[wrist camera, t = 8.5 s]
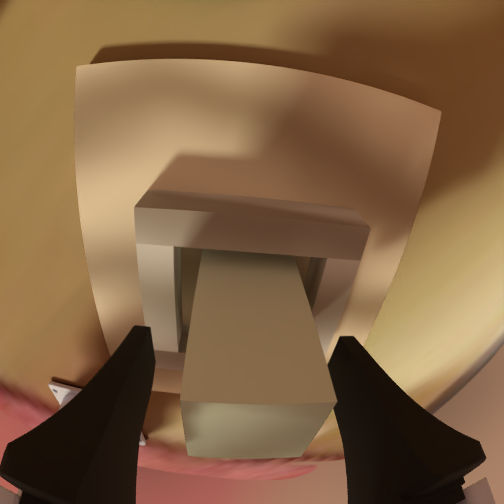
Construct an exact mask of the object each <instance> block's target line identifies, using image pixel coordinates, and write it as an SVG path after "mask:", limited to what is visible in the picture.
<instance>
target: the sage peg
mask: <svg viewBox="0 0 504 504" xmlns="http://www.w3.org/2000/svg"><path fill="white" fill-rule="evenodd" d="M336 403H337V399H336V395H335V391H334V388H333V384H332V380H331V377H330V373H329V370H328V366H327V363H326V359H325V356H324V352H323V349H322V345H321V342H320V339H319V335H318V332H317V329H316V325H315V322H314V319H313V315H312V312H311V309H310V305H309V302H308V299H307V296H306V293H305V289H304V286H303V283H302V280H301V277H300V274H299V270H298V267H297V264H296V261H295V258H294V256H293V255H280V254H267V253H253V252H240V251H227V250H214V249H203V250H202V255H201V261H200V267H199V272H198V278H197V284H196V290H195V296H194V302H193V308H192V315H191V321H190V328H189V335H188V341H187V348H186V356H185V363H184V370H183V378H182V386H181V394H180V406H181V413H182V420H183V427H184V434H185V440H186V447H187V453H188V456H196V457H211V458H238V459H260V458H287V457H301V456H302V454H303V453H304V452H305V450H306V449H307V447H308V446H309V444H310V443H311V442H312V440H313V439H314V437H315V436H316V434H317V433H318V431H319V430H320V428H321V427H322V425H323V424H324V422H325V420H326V419H327V417H328V416H329V414H330V413H331V411H332V409H333V408H334V406H335V404H336Z"/></svg>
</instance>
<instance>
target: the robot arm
mask: <svg viewBox="0 0 504 504" xmlns="http://www.w3.org/2000/svg"><path fill="white" fill-rule="evenodd" d="M155 365H156V360H155V353H154V347H153V340H152V333H151V327H147V326H139V325H135V326H133V327H132V329H131V330H130V332H129V333H128V334H127V336H126V337H125V339H124V340H123V341H122V343H121V344H120V345H119V347H118V348H117V349H116V351H115V352H114V353H113V354H112V356H111V357H110V358H109V359H108V361H107V362H106V363H105V364H104V366H103V367H102V368H101V369H100V370H99V371H98V373H97V374H96V375H95V376H94V377H93V378H92V379H91V380H90V382H89V383H88V384H87V385H86V386H85V387H84V388H83V389H80V388H76V387H72V386H68V385H64V384H60V383H56V382H53V381H51V382H50V383H49V387H50V389H51V390H52V392H53V394H54V395H55V397H56V398H57V400H58V402H59V403H60V405H61V406H60V408H59V411H58V412H56V413H55V414H54V415H52V416H51V417H50V418H48V419H47V420H46V421H44V422H43V423H41V424H40V425H38V426H37V427H36V428H34V429H33V430H31V431H29V432H28V433H26V434H24V435H22V436H21V437H19V438H17V439H15V440H14V441H12V442H10V443H8V445H7V447H6V449H5V452H4V455H3V458H2V461H1V465H0V476H1V477H2V478H3V479H5V480H6V481H8V482H9V483H11V484H12V485H14V486H15V487H17V488H18V493H17V494H15V493H13V492H12V491H10V490H8V489H5V488H4V487H2V486H0V504H136V475H137V461H138V451H139V445H146V440H145V438H144V436H143V433H142V427H143V422H144V418H145V414H146V410H147V406H148V402H149V398H150V394H151V390H152V386H153V379H154V372H155ZM327 366H328V370H329V373H330V377H331V380H332V384H333V388H334V391H335V395H336V399H337V403H336V404H335V406H334V408H333V409H334V412H335V416H336V419H337V423H338V426H339V430H340V434H341V438H342V442H343V448H344V456H345V463H346V474H347V489H348V504H495V501H494V498H493V495H492V492H491V489H490V486H489V484H488V481H487V479H486V478H483V479H481V480H480V481H478V482H476V483H475V484H472V485H471V486H469V487H467V488H465V489H462V486H461V485H463V484H464V483H465V480H464V478H463V476H465V475H466V474H468V473H469V472H471V471H472V470H473V469H475V468H476V467H478V466H479V465H480V464H481V463H483V462H484V461H485V459H486V456H485V454H484V451H483V449H482V447H481V444H480V442H479V441H477V440H475V439H473V438H471V437H468V436H466V435H464V434H462V433H460V432H458V431H456V430H454V429H453V428H451V427H449V426H448V425H446V424H444V423H443V422H441V421H440V420H438V419H437V418H436V417H434V416H433V415H431V414H430V413H429V412H427V411H426V410H425V409H423V408H422V407H421V406H420V405H419V404H417V403H416V402H415V401H414V400H413V399H411V398H410V397H409V396H408V395H407V394H406V393H405V392H404V391H403V390H402V389H401V388H400V387H399V386H398V385H397V384H396V383H395V382H394V381H393V380H392V379H391V378H390V377H389V376H388V375H387V374H386V373H385V371H384V370H383V369H382V368H381V367H380V366H379V365H378V364H377V362H376V361H375V360H374V359H373V358H372V357H371V355H370V354H369V353H368V352H367V351H366V350H365V348H364V347H363V346H362V345H361V344H360V343H359V341H358V340H357V339H356V338H355V337H354V336H340V337H339V339H338V341H337V344H336V346H335V348H334V351H333V353H332V355H331V358H330V360H329V362H328V364H327Z"/></svg>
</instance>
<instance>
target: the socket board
mask: <svg viewBox="0 0 504 504" xmlns="http://www.w3.org/2000/svg"><path fill="white" fill-rule="evenodd" d="M441 113H442V111H439V110H437V109H434V108H432V107H429V106H427V105H424V104H422V103H419V102H416V101H414V100H411V99H408V98H405V97H402V96H399V95H396V94H393V93H390V92H387V91H384V90H381V89H377V88H374V87H370V86H367V85H363V84H360V83H356V82H352V81H348V80H344V79H340V78H336V77H332V76H327V75H322V74H318V73H313V72H308V71H302V70H297V69H291V68H285V67H278V66H271V65H263V64H255V63H246V62H235V61H222V60H204V59H147V60H129V61H116V62H106V63H97V64H89V65H82V66H77V69H76V83H75V105H74V144H75V167H76V182H77V194H78V204H79V213H80V221H81V228H82V235H83V242H84V248H85V254H86V260H87V265H88V270H89V275H90V280H91V285H92V290H93V294H94V299H95V303H96V307H97V311H98V315H99V319H100V323H101V327H102V330H103V334H104V337H105V341H106V344H107V348H108V351H109V354H110V357H111V356H112V354H113V353H114V352H115V351H116V349H117V348H118V347H119V345H120V344H121V343H122V341H123V340H124V339H125V337H126V336H127V334H128V333H129V332H130V330H131V329H132V327H133V326H135V325H139V326H147V327H151V333H152V340H153V347H154V353H155V360H156V365H155V372H154V379H153V386H152V391H160V392H168V393H177V394H181V386H182V378H183V370H184V363H185V356H186V348H187V341H188V335H189V328H190V321H191V315H192V308H193V302H194V296H195V290H196V284H197V278H198V272H199V267H200V261H201V255H202V250H203V249H214V250H227V251H240V252H253V253H267V254H280V255H293V256H294V258H295V261H296V264H297V267H298V270H299V274H300V277H301V280H302V283H303V286H304V289H305V293H306V296H307V299H308V302H309V305H310V309H311V312H312V315H313V319H314V322H315V325H316V329H317V332H318V335H319V339H320V342H321V345H322V349H323V352H324V356H325V359H326V363H327V364H328V362H329V360H330V358H331V355H332V353H333V351H334V348H335V346H336V344H337V341H338V339H339V337H340V336H354V337H355V338H356V339H357V340H358V341H359V343H360V344H361V345H362V346H363V345H364V343H365V341H366V339H367V337H368V334H369V332H370V330H371V328H372V326H373V324H374V322H375V320H376V317H377V315H378V313H379V311H380V308H381V306H382V304H383V302H384V299H385V297H386V295H387V292H388V290H389V287H390V285H391V283H392V280H393V278H394V275H395V273H396V270H397V268H398V265H399V262H400V260H401V257H402V254H403V252H404V249H405V246H406V243H407V240H408V238H409V235H410V232H411V229H412V226H413V223H414V220H415V217H416V213H417V210H418V207H419V204H420V200H421V197H422V194H423V190H424V187H425V183H426V179H427V176H428V172H429V168H430V164H431V160H432V156H433V152H434V147H435V143H436V138H437V134H438V129H439V124H440V118H441Z"/></svg>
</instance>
